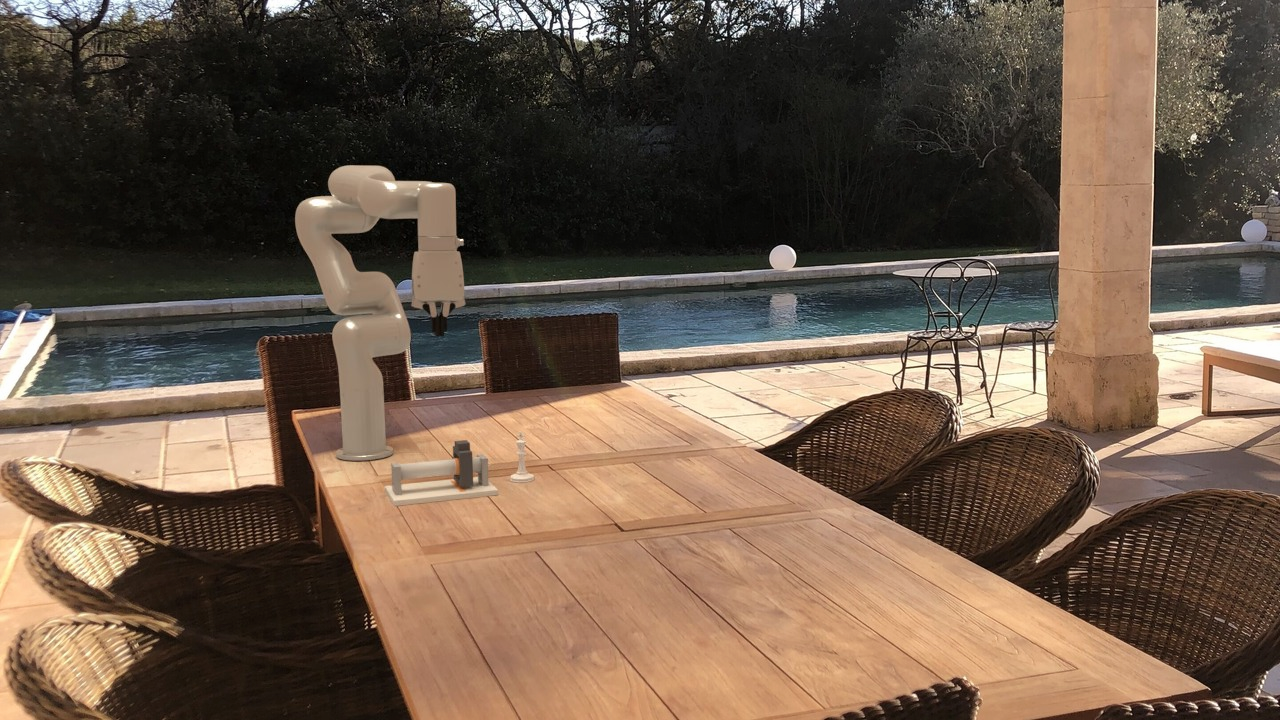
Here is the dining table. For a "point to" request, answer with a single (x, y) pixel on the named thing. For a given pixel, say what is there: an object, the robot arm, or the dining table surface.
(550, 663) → the dining table surface
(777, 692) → the dining table surface
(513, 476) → the chess piece
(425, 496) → the rail
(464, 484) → the dark grey notched block
